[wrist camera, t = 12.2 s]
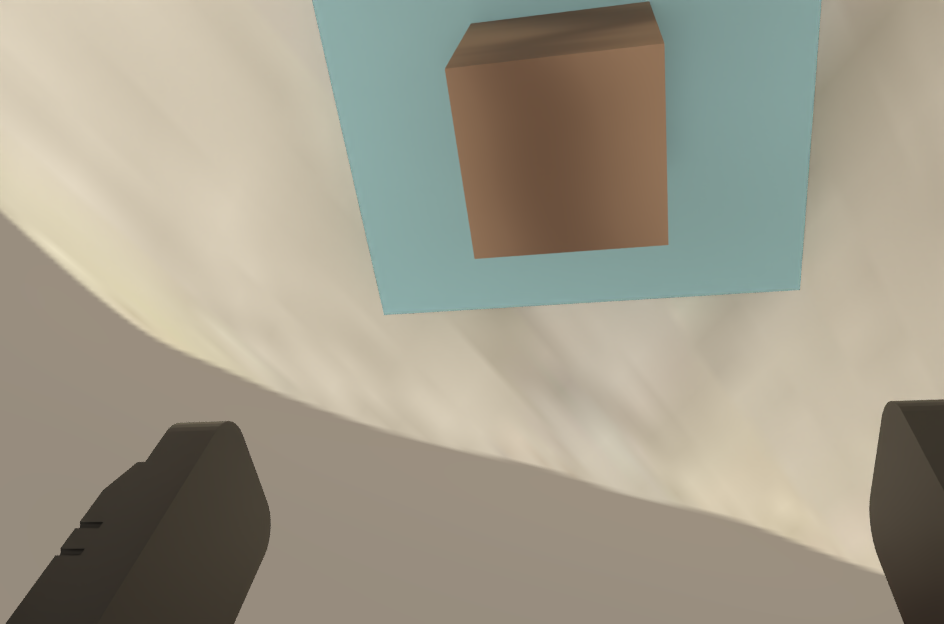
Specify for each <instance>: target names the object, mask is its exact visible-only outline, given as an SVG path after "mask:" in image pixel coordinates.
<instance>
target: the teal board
mask: <svg viewBox="0 0 944 624" xmlns="http://www.w3.org/2000/svg"><path fill="white" fill-rule="evenodd" d="M647 1H649V2H650V5H651V7H652V10H653V13H654V16H655V18H656V21H657V24H658V27H659V30H660V32H661V35H662V38H663V41H664V45H665V95H666V144H667V194H668V243H669V245H662V246H649V247H635V248H621V249H607V250H593V251H579V252H565V253H551V254H538V255H524V256H510V257H496V258H482V259H474V252H473V246H472V240H471V233H470V227H469V220H468V214H467V208H466V201H465V195H464V189H463V182H462V176H461V170H460V163H459V157H458V150H457V144H456V138H455V131H454V125H453V119H452V112H451V106H450V99H449V93H448V87H447V80H446V74H445V67H446V66H447V64H448V62H449V60H450V59H451V57H452V55H453V53H454V52H455V50H456V48H457V47H458V45H459V43H460V41H461V40H462V38H463V36H464V34H465V33H466V31H467V29H468V27H469V26H470V24H471V23H479V22H487V21H495V20H503V19H511V18H519V17H527V16H535V15H543V14H551V13H559V12H567V11H575V10H583V9H591V8H599V7H607V6H615V5H623V4H631V3H639V2H647ZM312 2H313V6H314V10H315V15H316V19H317V24H318V28H319V32H320V37H321V41H322V45H323V50H324V54H325V59H326V63H327V67H328V72H329V76H330V80H331V85H332V89H333V93H334V98H335V102H336V107H337V111H338V115H339V120H340V124H341V128H342V133H343V137H344V142H345V146H346V150H347V155H348V159H349V163H350V168H351V172H352V176H353V181H354V185H355V190H356V194H357V198H358V203H359V207H360V211H361V216H362V220H363V225H364V229H365V233H366V238H367V242H368V246H369V251H370V255H371V259H372V264H373V268H374V273H375V277H376V281H377V286H378V290H379V294H380V299H381V303H382V308H383V312H384V315H390V314H407V313H423V312H440V311H456V310H473V309H490V308H506V307H523V306H540V305H556V304H573V303H590V302H606V301H623V300H639V299H656V298H673V297H689V296H706V295H723V294H739V293H756V292H772V291H789V290H800V281H801V268H802V254H803V241H804V228H805V214H806V201H807V187H808V174H809V161H810V147H811V134H812V120H813V107H814V94H815V80H816V67H817V53H818V40H819V27H820V13H821V0H312Z"/></svg>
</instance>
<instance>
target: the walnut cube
mask: <svg viewBox="0 0 944 624" xmlns="http://www.w3.org/2000/svg"><path fill="white" fill-rule="evenodd" d="M445 74H446V80H447V87H448V93H449V99H450V106H451V112H452V119H453V125H454V131H455V138H456V144H457V150H458V157H459V163H460V170H461V176H462V182H463V189H464V195H465V201H466V208H467V214H468V220H469V227H470V233H471V240H472V246H473V252H474V259H482V258H496V257H510V256H524V255H538V254H551V253H565V252H579V251H593V250H607V249H621V248H635V247H649V246H662V245H669V243H668V194H667V144H666V95H665V45H664V41H663V38H662V35H661V32H660V30H659V27H658V24H657V21H656V18H655V16H654V13H653V10H652V7H651V5H650V2H649V1H647V2H639V3H631V4H623V5H615V6H607V7H599V8H591V9H583V10H575V11H567V12H559V13H551V14H543V15H535V16H527V17H519V18H511V19H503V20H495V21H487V22H479V23H471V24H470V26H469V27H468V29H467V31H466V33H465V34H464V36H463V38H462V40H461V41H460V43H459V45H458V47H457V48H456V50H455V52H454V53H453V55H452V57H451V59H450V60H449V62H448V64H447V66H446V67H445Z"/></svg>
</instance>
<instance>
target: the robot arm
mask: <svg viewBox="0 0 944 624" xmlns="http://www.w3.org/2000/svg"><path fill="white" fill-rule="evenodd" d="M869 511H870V525H871V532H872V537H873V542H874V546H875V549H876V553H877V555H878V558H879V561H880V563H881V566H882V568H883V571H884V573H885V576H886V579H887V581H888V584H889V586H890V589H891V591H892V594H893V596H894V599H895V602H896V604H897V607H898V609H899V612H900V614H901V617H902V619H903V622H904V624H944V400H913V401H890V402H888V403H887V404H886V406H885V408H884V411H883V414H882V420H881V427H880V433H879V440H878V447H877V454H876V460H875V467H874V474H873V481H872V487H871V494H870V506H869ZM270 526H271V525H270V511H269V506H268V503H267V500H266V497H265V495H264V492H263V489H262V486H261V484H260V481H259V478H258V475H257V473H256V470H255V467H254V464H253V462H252V459H251V456H250V454H249V451H248V448H247V445H246V443H245V440H244V437H243V435H242V432H241V430H240V429H239V427H238V426H237V425H236V424H235V423H233V422H230V421H222V422H221V421H219V422H189V423H176V424H174V425H172V426H171V427H170V428H169V429H168V430H167V432H166V433H165V435H164V436H163V437H162V439H161V440H160V442H159V443H158V445H157V446H156V447H155V449H154V450H153V452H152V453H151V454H150V456H149V458H148V459H147V460H146V462H138V463H136V464H135V465H134V466H132V467H131V468H130V469H129V470H127V471H126V472H125V473H124V474H123V475H121V476H120V477H119V478H118V479H116V480H115V481H114V482H113V483H111V484H110V485H109V486H108V487H106V488H105V489H104V490H103V491H102V492H101V494H100V495H99V497H98V498H97V500H96V501H95V502H94V504H93V505H92V506H91V508H90V509H89V510H88V512H87V513H86V514H85V516H84V517H83V518H82V520H81V521H80V528H76V529H75V530H74V531H73V532H72V534H71V535H70V536H69V538H68V539H67V540H66V542H65V543H64V544H63V546H62V547H61V554H60V555H59V556H55V557H54V558H53V560H52V561H51V562H50V564H49V565H48V566H47V568H46V569H45V570H44V572H43V573H42V575H41V576H40V577H39V579H38V580H37V581H36V583H35V584H34V586H33V587H32V588H31V590H30V591H29V592H28V594H27V595H26V596H25V598H24V599H23V601H22V602H21V603H20V605H19V606H18V607H17V609H16V610H15V611H14V613H13V614H12V616H11V617H10V618H9V620H8V621H7V622H6V624H234V622H235V620H236V618H237V616H238V613H239V611H240V609H241V606H242V604H243V602H244V600H245V598H246V595H247V593H248V591H249V589H250V586H251V584H252V582H253V579H254V577H255V575H256V573H257V570H258V568H259V566H260V564H261V562H262V560H263V557H264V555H265V552H266V550H267V546H268V542H269V537H270Z"/></svg>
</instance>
